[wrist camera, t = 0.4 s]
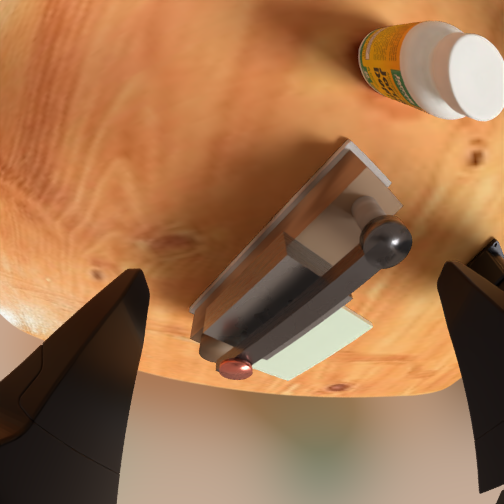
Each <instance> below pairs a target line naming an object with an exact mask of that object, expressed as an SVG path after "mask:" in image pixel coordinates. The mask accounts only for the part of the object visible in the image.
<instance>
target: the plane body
mask: <svg viewBox="0 0 504 504" xmlns="http://www.w3.org/2000/svg"><path fill="white" fill-rule="evenodd" d="M390 184H391V182H390V180H389V179H388V178H387V177H386V176H385V175H384V174H383V173H382V172H381V171H380V170H379V169H378V168H377V166H376V165H375V164H374V163H373V162H372V161H371V160H370V159H369V158H368V157H367V156H366V155H365V154H364V153H363V152H362V151H361V150H360V149H359V148H358V147H357V146H356V145H355V144H354V143H353V142H352V141H351V140H350V139H348V140H347V141H346V142H345V143H344V144H343V145H342V146H341V147H340V148H339V149H338V150H337V151H336V152H335V153H334V154H333V155H332V156H331V157H330V158H329V159H328V160H327V162H326V163H325V164H324V165H323V166H322V167H321V168H320V169H319V170H318V171H317V172H316V173H315V174H314V175H313V176H312V177H311V178H310V179H309V180H308V182H307V183H306V184H305V185H304V186H303V187H302V188H301V189H300V190H299V191H298V192H297V193H296V194H295V195H294V196H293V197H292V198H291V200H290V201H289V202H288V203H287V204H286V205H285V206H284V207H283V208H282V209H281V210H280V211H279V212H278V213H277V214H276V215H275V216H274V218H273V219H272V220H271V221H270V222H269V223H268V224H267V225H266V226H265V227H264V228H263V229H262V230H261V231H260V232H259V233H258V235H257V236H256V237H255V238H254V239H253V240H252V241H251V242H250V243H249V244H248V245H247V246H246V247H245V248H244V249H243V251H242V252H241V253H240V254H239V255H238V256H237V257H236V258H235V259H234V260H233V261H232V262H231V263H230V264H229V266H228V267H227V268H226V269H225V270H224V271H223V272H222V273H221V274H220V275H219V276H218V277H217V278H216V279H215V281H214V282H213V283H212V284H211V285H210V286H209V287H208V288H207V289H206V290H205V291H204V292H203V293H202V295H201V296H200V297H199V298H198V299H197V300H196V301H195V302H194V303H193V304H192V305H191V306H190V308H189V312H190V313H192V314H194V318H193V324H192V330H191V336H190V339H192V340H194V341H196V342H198V343H200V349H199V354H200V356H201V357H202V358H204V359H205V360H207V361H210V362H215V363H216V362H217V359H219V358H220V357H221V356H223V355H224V354H225V353H227V352H228V351H229V350H231V349H232V348H233V346H231V345H228V344H226V343H224V342H222V341H219V340H217V339H215V338H213V337H210V336H208V335H206V334H204V333H203V330H204V322H205V315H206V308H207V307H208V306H209V305H210V304H211V303H212V302H213V301H214V300H215V299H216V298H217V297H218V296H219V295H220V294H221V293H222V292H223V291H224V290H225V289H226V288H227V287H228V286H229V285H230V284H231V283H232V282H233V281H234V280H235V279H236V278H237V277H238V276H239V275H240V274H241V273H242V272H243V271H244V270H245V269H246V268H247V267H248V266H249V265H250V264H251V263H252V262H253V261H254V260H255V259H256V258H257V257H258V256H259V255H260V254H261V253H262V252H263V251H264V250H265V249H266V248H267V247H268V246H269V245H270V244H271V243H272V242H273V241H274V240H275V239H276V238H277V236H278V235H279V234H280V233H281V232H282V231H284V232H286V233H287V234H288V235H290V236H291V237H293V238H294V239H296V240H297V241H299V242H300V243H301V244H303V245H304V246H306V247H307V248H308V249H310V250H311V251H313V252H314V253H316V254H317V255H318V256H320V257H321V258H323V259H324V260H325V261H327V262H328V263H330V264H331V265H332V266H334V265H335V264H336V263H338V262H339V261H340V260H341V259H342V258H343V257H344V256H345V255H347V254H348V253H349V252H350V251H351V250H352V249H353V248H354V247H356V246H357V245H358V244H359V237H360V234H361V232H362V230H363V228H364V227H365V226H366V224H367V223H369V222H370V221H371V220H372V219H374V218H376V217H379V216H382V215H394V214H395V213H396V212H397V211H398V210H400V209H401V208H402V207H403V205H402V204H401V203H400V201H399V200H398V199H397V198H396V197H395V196H394V194H393V193H392V192H391V191H390V190H389V189H388V188H387V187H388V186H389V185H390Z"/></svg>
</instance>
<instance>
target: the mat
mask: <svg viewBox="0 0 504 504" xmlns="http://www.w3.org/2000/svg"><path fill="white" fill-rule="evenodd" d="M371 328H373V325H372V323H371V322H370V321H368V320H366V319H365V318H363V317H362V316H360V315H358V314H357V313H355V312H354V311H352V310H350V309H349V308H347V307H346V306H343V307H341V308H340V309H339V310H337V311H336V312H335V313H333V314H332V315H331V316H329V317H328V318H327V319H325V320H324V321H323V322H321V323H320V324H319V325H317V326H316V327H314V328H313V329H312V330H310V331H309V332H308V333H306V334H305V335H303V336H302V337H300V338H299V339H298V340H296V341H295V342H293V343H292V344H290V345H289V346H287V347H286V348H284V349H283V350H282V351H280V352H279V353H277V354H276V355H274V356H273V357H271V358H269V359H268V360H265V359H261V360H259V361H258V362H256V363H254V364H253V365H252V368H254V369H256V370H259V371H262V372H264V373H267V374H270V375H273V376H276V377H278V378H281V379H284V380H287V381H289V380H291V379H293V378H294V377H296V376H298V375H300V374H301V373H303V372H305V371H306V370H308V369H310V368H311V367H313V366H315V365H316V364H318V363H320V362H321V361H323V360H324V359H326V358H328V357H329V356H331V355H332V354H334V353H336V352H337V351H339V350H340V349H342V348H343V347H345V346H346V345H348V344H349V343H351V342H352V341H354V340H355V339H357V338H358V337H360V336H361V335H363V334H364V333H365V332H367V331H368V330H370V329H371Z"/></svg>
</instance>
